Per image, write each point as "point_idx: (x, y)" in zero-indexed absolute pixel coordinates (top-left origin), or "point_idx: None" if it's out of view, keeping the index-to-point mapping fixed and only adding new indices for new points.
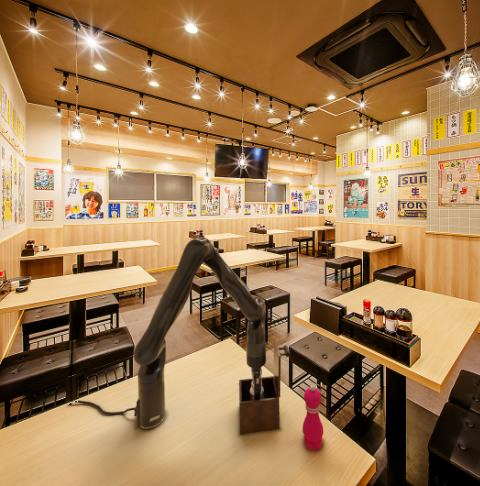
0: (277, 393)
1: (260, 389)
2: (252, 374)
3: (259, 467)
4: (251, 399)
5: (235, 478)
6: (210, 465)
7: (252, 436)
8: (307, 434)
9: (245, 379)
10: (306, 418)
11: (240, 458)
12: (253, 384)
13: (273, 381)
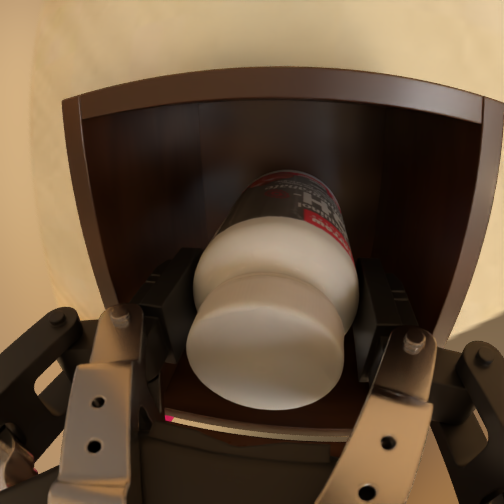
0: (174, 424)
1: (54, 388)
2: (61, 501)
3: (62, 188)
4: (239, 207)
5: (35, 108)
6: (76, 4)
7: None
8: None
9: (489, 191)
10: None
11: None
12: (225, 327)
13: (346, 422)
